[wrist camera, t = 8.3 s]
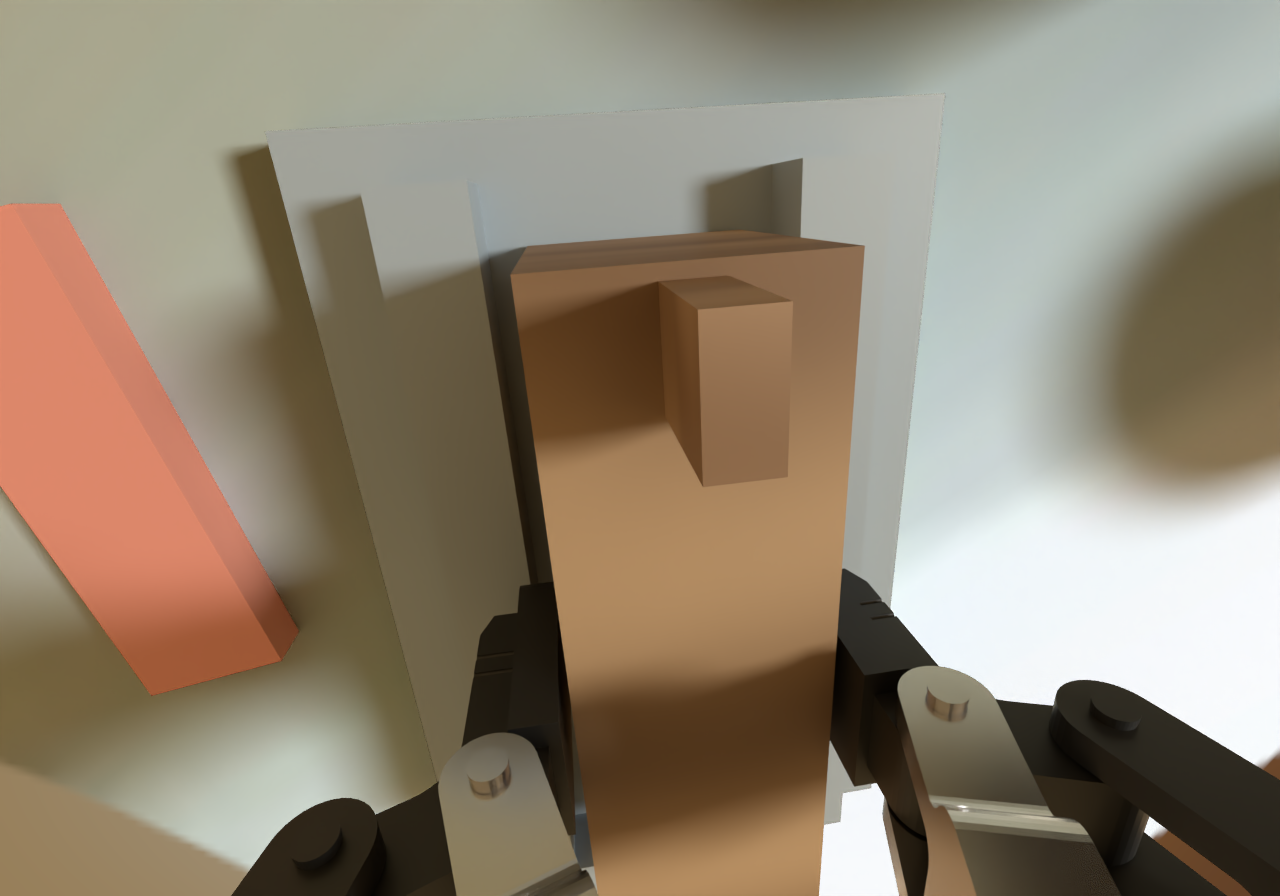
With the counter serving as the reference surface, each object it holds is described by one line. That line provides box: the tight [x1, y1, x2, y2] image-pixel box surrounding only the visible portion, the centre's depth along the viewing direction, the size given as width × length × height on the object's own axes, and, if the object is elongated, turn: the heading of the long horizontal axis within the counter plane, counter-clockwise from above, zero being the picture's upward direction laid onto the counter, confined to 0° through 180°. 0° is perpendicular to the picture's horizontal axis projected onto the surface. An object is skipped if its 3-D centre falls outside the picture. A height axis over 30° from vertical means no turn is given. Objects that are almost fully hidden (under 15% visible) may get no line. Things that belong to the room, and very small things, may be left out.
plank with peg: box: [510, 230, 865, 896], centre depth 11 cm, size 14×4×7 cm, turn 3°
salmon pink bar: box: [0, 204, 299, 696], centre depth 13 cm, size 10×3×2 cm, turn 12°
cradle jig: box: [265, 93, 945, 890], centre depth 14 cm, size 18×12×3 cm, turn 3°
